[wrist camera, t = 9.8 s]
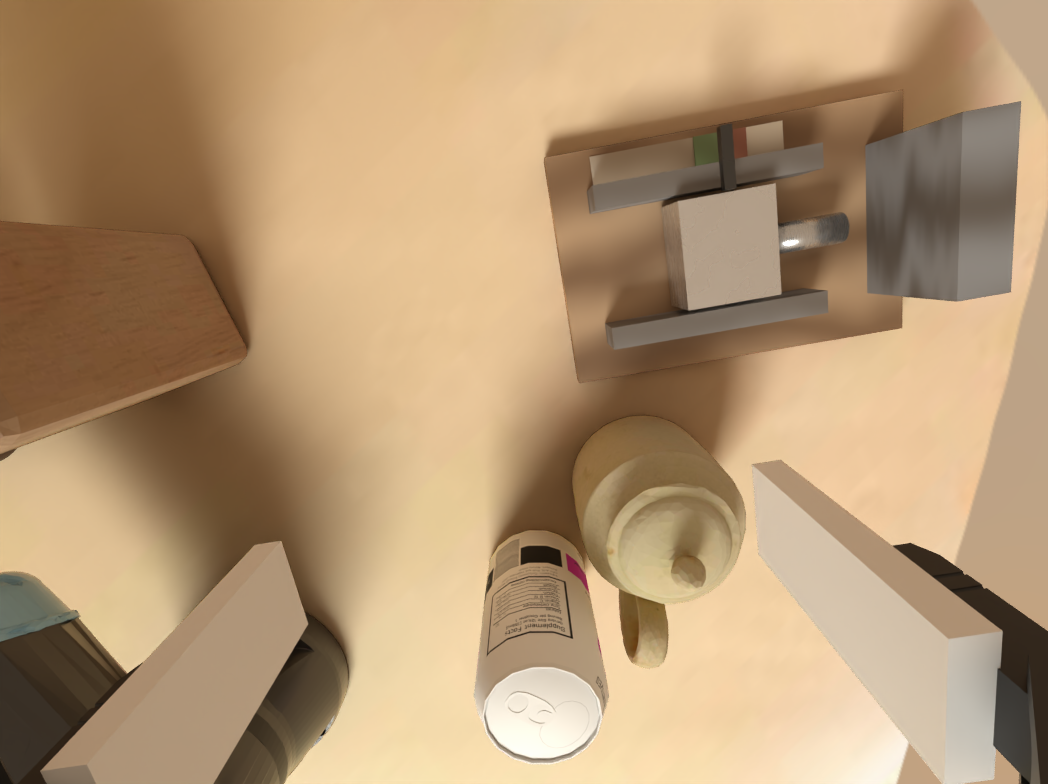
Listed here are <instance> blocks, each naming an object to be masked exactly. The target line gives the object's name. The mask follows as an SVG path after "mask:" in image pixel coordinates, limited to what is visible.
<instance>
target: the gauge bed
mask: <svg viewBox="0 0 1048 784" xmlns="http://www.w3.org/2000/svg"><path fill="white" fill-rule="evenodd" d="M1020 112H1021V101H1020V102H1015V103H1009V104H1004V105H999V106H993V107H988V108H982V109H977V110H972V111H966V112H962V113H959V114H956V115H953V116H950V117H947V118H944V119H941V120H938V121H935V122H932V123H929V124H927V125H924V126H921V127H918V128H915V129H912V130H909V131H906V132H903V90H898V91H893V92H888V93H882V94H877V95H872V96H867V97H861V98H856V99H851V100H846V101H840V102H835V103H830V104H824V105H819V106H814V107H809V108H803V109H798V110H793V111H788V112H782V113H777V114H772V115H767V116H761V117H756V118H751V119H745V120H740V121H735V122H730V123H732V128H733V143H734V157H735V171H736V185H737V188H735V189H732V190H726V191H721V181H720V168H719V155H718V142H717V129H716V128H717V127H719V126H720V125H725V124H730V123H724V124H719V125H714V126H709V127H703V128H698V129H693V130H687V131H682V132H677V133H672V134H666V135H661V136H656V137H651V138H645V139H640V140H635V141H630V142H624V143H619V144H614V145H608V146H603V147H598V148H593V149H587V150H582V151H577V152H572V153H566V154H561V155H556V156H550V157H545V159H544V166H545V172H546V179H547V185H548V192H549V198H550V205H551V211H552V218H553V224H554V230H555V237H556V243H557V250H558V256H559V263H560V269H561V276H562V282H563V289H564V295H565V302H566V308H567V315H568V321H569V328H570V334H571V341H572V347H573V354H574V360H575V366H576V373H577V379H578V381H579V383H583V382H589V381H595V380H601V379H607V378H613V377H618V376H624V375H630V374H636V373H642V372H648V371H654V370H659V369H665V368H671V367H677V366H683V365H689V364H695V363H700V362H706V361H712V360H718V359H724V358H730V357H736V356H741V355H747V354H753V353H759V352H765V351H771V350H777V349H782V348H788V347H794V346H800V345H806V344H812V343H818V342H823V341H829V340H835V339H841V338H847V337H853V336H858V335H864V334H870V333H876V332H882V331H888V330H894V329H899V328H902V296H903V297H914V298H925V299H936V300H946V301H963V300H969V299H975V298H980V297H986V296H992V295H998V294H1004V293H1009V292H1011V279H1012V261H1013V242H1014V224H1015V205H1016V187H1017V168H1018V149H1019V131H1020ZM774 183H776V199H777V218H778V223H782V222H788V221H793V220H799V219H804V218H810V217H815V216H821V215H826V214H832V213H837V212H843V213H844V214H845V215H846V216H847V218H848V220H849V234H848V237H847V239H846V240H845V241H844V242H843V243H839V244H834V245H828V246H822V247H817V248H811V249H806V250H800V251H794V252H789V253H783V254H779V256H780V275H781V295H775V296H769V297H764V298H758V299H752V300H747V301H741V302H735V303H729V304H724V305H718V306H712V307H707V308H701V309H695V310H689V311H688V310H685V309H681V308H678V307H675V306H671V297H670V287H669V278H668V268H667V259H666V249H665V240H664V230H663V221H662V211H661V208H662V207H664V206H667V205H670V204H672V203H675V202H677V201H682V200H687V199H693V198H698V197H704V196H709V195H714V194H720V193H725V192H731V191H736V190H742V189H747V188H752V187H758V186H763V185H769V184H774Z"/></svg>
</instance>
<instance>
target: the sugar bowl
mask: <svg viewBox="0 0 1048 784" xmlns="http://www.w3.org/2000/svg"><path fill="white" fill-rule="evenodd" d="M572 487H573V494H574V500H575V507H576V513H577V518H578V523H579V528H580V531H581V535H582V539H583V543H584V546H585V549H586V552H587V555H588V557H589V560H590V561H591V563H592V564H593V566H594V567H595V569H596V570H597V571H598V572H599V574H600V575H601V576H602V577H603V578H604V579H606V580H607V581H608V582H609V583H611V584H612V585H614V586H615V587H617V588H619V611H620V621H621V630H622V635H623V642H624V646H625V650H626V653H627V655H628V657H629V659H630V661H631V662H632V663H633V664H635V665H637V666H639V667H641V668H647V669H650V668H655V667H659V666H660V665H661V664H662V663H663V662H664V660H665V657H666V654H667V648H668V621H667V616H666V610H665V605H664V604H676V603H683V602H688V601H691V600H694V599H697V598H699V597H701V596H703V595H705V594H707V593H709V592H710V591H712V590H713V589H715V588H716V587H717V586H719V585H720V584H721V583H722V582H723V581H724V580H725V578H726V577H727V576H728V575H729V573H730V572H731V570H732V569H733V567H734V565H735V563H736V561H737V558H738V555H739V552H740V549H741V544H742V542H743V538H744V534H745V525H746V512H745V507H744V502H743V499H742V496H741V494H740V492H739V491H738V489H737V487H736V485H735V483H734V482H733V480H732V479H731V478H730V476H729V475H728V474H727V473H726V472H725V471H724V469H723V468H722V467H721V466H720V465H719V464H718V463H717V461H716V460H715V459H714V458H713V457H712V456H711V455H710V454H709V453H708V452H707V451H706V450H705V449H704V448H703V447H702V446H701V445H700V444H699V443H698V442H697V441H695V440H694V439H693V438H692V437H691V436H690V435H689V434H688V433H687V432H686V431H685V430H683V429H682V428H681V427H679V426H678V425H676V424H674V423H672V422H670V421H668V420H665V419H662V418H659V417H654V416H630V417H625V418H622V419H618V420H616V421H613V422H610V423H609V424H607V425H605V426H603V427H602V428H600V429H599V430H598V431H597V432H595V433H594V434H593V435H592V436H591V437H590V438H589V439H588V440H587V441H586V443H585V444H584V445H583V447H582V448H581V450H580V452H579V454H578V456H577V458H576V461H575V465H574V469H573V474H572Z"/></svg>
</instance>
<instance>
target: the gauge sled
mask: <svg viewBox="0 0 1048 784" xmlns="http://www.w3.org/2000/svg"><path fill="white" fill-rule="evenodd" d="M716 129H717V142H718V155H719V168H720V181H721V191H726V190H732V189H735V188H737V185H736V171H735V157H734V143H733V128H732V123H730V124H725V125H720V126H719V127H717V128H716ZM661 211H662V221H663V230H664V240H665V249H666V259H667V268H668V278H669V287H670V297H671V306H675V307H678V308H681V309H685V310H688V311H689V310H695V309H701V308H707V307H712V306H718V305H724V304H729V303H735V302H741V301H747V300H752V299H758V298H764V297H769V296H775V295H781V275H780V256H779V254H783V253H789V252H794V251H800V250H806V249H811V248H817V247H822V246H828V245H834V244H839V243H843V242H844V241H845V240H846V239H847V237H848V234H849V220H848V218H847V216H846V215H845V214H844V213H843V212H837V213H832V214H826V215H821V216H815V217H810V218H804V219H799V220H793V221H788V222H782V223H778V218H777V199H776V183H774V184H769V185H763V186H758V187H752V188H747V189H742V190H736V191H731V192H725V193H720V194H714V195H709V196H704V197H698V198H693V199H687V200H682V201H677V202H675V203H672V204H670V205H667V206H664V207H662V208H661Z"/></svg>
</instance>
